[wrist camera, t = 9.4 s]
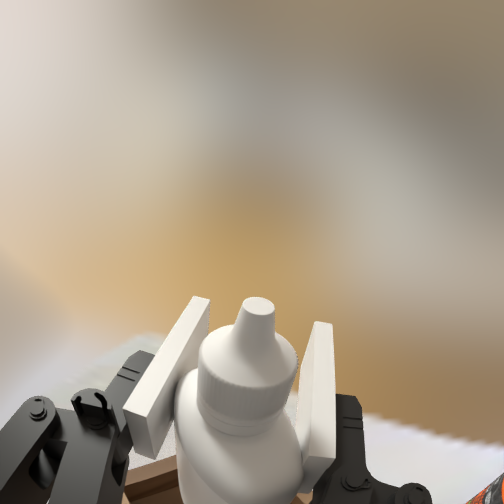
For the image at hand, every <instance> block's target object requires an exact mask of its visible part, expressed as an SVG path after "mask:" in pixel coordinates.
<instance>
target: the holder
mask: <svg viewBox="0 0 504 504" xmlns="http://www.w3.org/2000/svg"><path fill="white" fill-rule="evenodd" d="M312 496H313V491H311V492H310V493H309V494H305V493H297V495H296V496H295V498H294V499H293V500H292V502H291V503H290V504H309V503H310V501H311V500H312ZM122 504H184V503H183V500H182V497H181V493H180V488H179V479H178V469H177V457H176V455H174V456H171V457H168V458H165V459H163V460H160V461H157V462H154V463H151V464H147V465H144V466H141V467H138V468H135V469H131V470H128V471H127V476H126V482H125V487H124V492H123V498H122Z"/></svg>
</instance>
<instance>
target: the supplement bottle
mask: <svg viewBox="0 0 504 504" xmlns="http://www.w3.org/2000/svg"><path fill="white" fill-rule="evenodd" d="M466 504H504V473H503V474H501V475H500V476H499V477H498V478H497V479H496V480H495V481H493V482H492V483H491V484H490V485H489V486H487V487H486V488H485V489H484V490H483V491H481V492H480V493H479V494H477V495H476V496H475V497H473V498H472V499H471V500H469V501H468V502H467V503H466Z"/></svg>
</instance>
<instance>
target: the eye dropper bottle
mask: <svg viewBox="0 0 504 504" xmlns="http://www.w3.org/2000/svg"><path fill="white" fill-rule="evenodd" d="M297 369H298V359H297V355H296V352H295V350H294V348H293V347H292V345H291V344H290V343H289V342H288V341H287V340H286V339H285V338H283V337H282V336H281V335H279V334H278V333H276V332H275V307H274V305H273V303H272V302H270V301H269V300H267V299H264V298H260V297H251V298H247V299H246V300H244V302H243V304H242V306H241V309H240V312H239V314H238V317H237V319H236V321H235V324H234V325H228V326H224V327H221V328H219V329H217V330H215V331H213V332H211V333H210V334H209V335H207V337H206V338H204V340H203V341H202V344H201V347H200V349H199V359H198V368H197V369H193V370H190V371H188V372H186V373H184V374H183V375H182V377H181V378H180V379H179V381H178V384H177V387H176V391H175V399H174V426H175V443H176V457H177V469H178V479H179V488H180V493H181V497H182V500H183V503H184V504H290V503H291V502H292V500H293V499H294V498H295V496H296V495H297V493H298V492H299V490H300V488H301V485H302V482H303V479H304V470H303V468H302V453H301V448H300V444H299V441H298V438H297V435H296V432H295V429H294V427H293V425H292V422H291V420H290V418H289V416H288V415H287V413H286V411H285V409H284V407H285V404H286V402H287V399H288V396H289V393H290V390H291V387H292V385H293V382H294V379H295V375H296V373H297Z"/></svg>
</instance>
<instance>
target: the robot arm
mask: <svg viewBox="0 0 504 504" xmlns="http://www.w3.org/2000/svg"><path fill="white" fill-rule="evenodd" d="M209 311H210V299H205V298H200V297H196V296H193V298H192V299H191V301H190V303H189V304H188V306H187V307H186V308H185V310H184V312H183V313H182V315H181V316H180V318H179V319H178V321H177V322H176V324H175V325H174V327H173V329H172V330H171V332H170V333H169V335H168V336H167V338H166V340H165V341H164V343H163V344H162V346H161V347H160V349H159V351H158V352H157V354H156V355H153V354H150V353H147V352H144V351H141V350H139V351H138V352H136V353H135V354H133V355H131V356H130V357H129V358H128V359H127V361H126V362H125V363H124V365H123V366H122V368H121V369H120V370H119V372H118V373H117V376H115V377H114V379H113V380H112V382H111V383H110V385H109V386H108V387H107V389H106V390H105V392H103V391H101V390H98V389H91V388H88V389H84V390H81V391H79V392H77V393H76V394H74V396H73V397H72V399H71V402H72V405H73V407H74V409H75V411H72V410H66V409H60V408H55V406H54V404H53V402H52V401H51V400H50V399H49V398H46V397H43V396H35V397H32V398H29V399H28V400H27V401H25V402H24V403H23V404H22V406H21V407H20V408H19V409H18V410H17V411H16V413H15V414H14V415H13V416H12V417H11V419H10V420H9V421H8V422H7V423H6V425H5V426H4V427H3V428H2V429H1V431H0V504H46V503H47V502H48V500H49V503H48V504H122V498H123V492H124V487H125V482H126V476H127V471H128V466H129V455H128V454H129V452H130V450H131V448H132V446H133V447H134V451H135V453H138V454H140V455H143V456H146V457H148V458H151V459H154V460H155V459H156V457H157V455H158V453H159V451H160V448H161V446H162V444H163V442H164V440H165V438H166V435H167V433H168V431H169V429H170V427H171V424H172V422H173V420H174V399H175V391H176V387H177V384H178V381H179V379H180V378H181V377H182V375H183V374H184V373H186V372H188V371H190V370H193V369H197V368H198V359H199V349H200V347H201V344H202V341H203V340H204V338H206V337H207V335H208V325H209ZM362 419H363V417H362V407H361V405H360V403H359V402H358V400H357V398H356V397H355V396H350V395H342V394H335V368H334V346H333V329H332V324H329V323H324V322H318V321H315V323H314V326H313V330H312V333H311V336H310V339H309V343H308V346H307V349H306V353H305V355H304V359H303V362H302V365H301V371H300V382H299V393H298V403H297V413H296V423H295V432H296V435H297V438H298V441H299V444H300V448H301V453H302V468H303V470H304V479H303V482H302V485H301V488H300V490H299V492H298V493H305V494H309V493H310V492H311V491H312V489H313V496H312V500H311V501H310V503H309V504H432V498H431V495H430V492H429V491H428V490H427V489H426V487H425V486H423V485H421V484H419V483H408V484H405V485H403V486H402V487H400V488H398V487H395V486H392V485H388V484H385V483H382V482H380V481H378V480H376V479H375V478H373V477H372V475H371V474H370V472H369V471H368V469H367V467H366V460H365V443H364V430H363V421H362ZM49 498H50V499H49Z"/></svg>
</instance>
